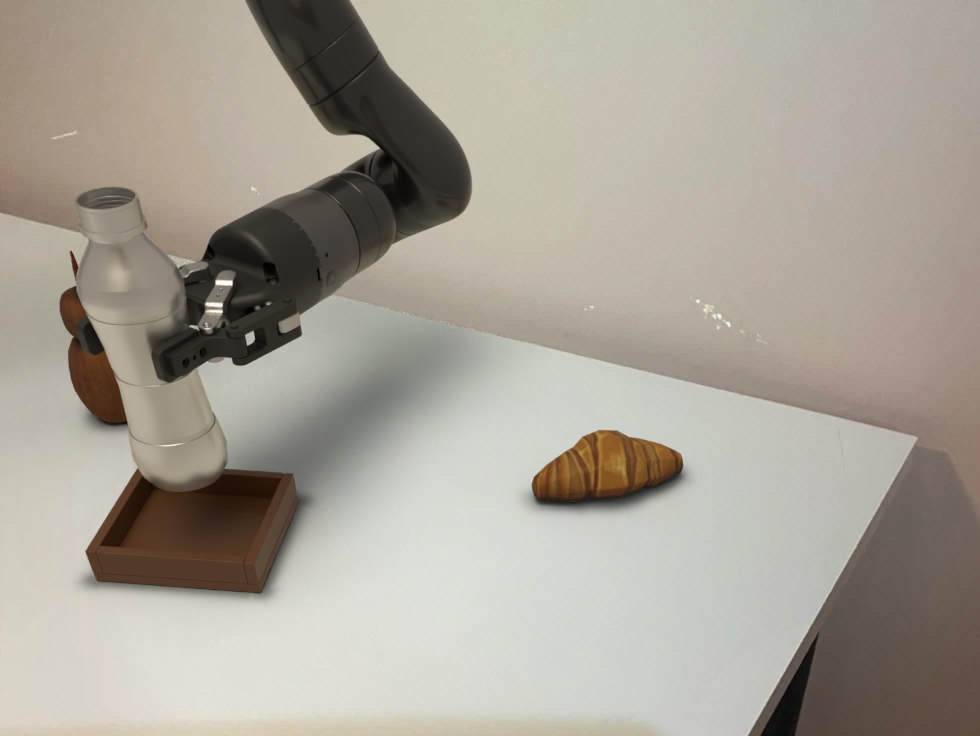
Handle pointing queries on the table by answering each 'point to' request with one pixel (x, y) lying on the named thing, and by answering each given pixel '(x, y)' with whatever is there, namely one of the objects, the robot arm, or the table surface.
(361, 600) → the table surface
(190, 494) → the tray
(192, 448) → the silver bottle
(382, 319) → the table surface
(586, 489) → the croissant
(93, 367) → the wooden figurine
